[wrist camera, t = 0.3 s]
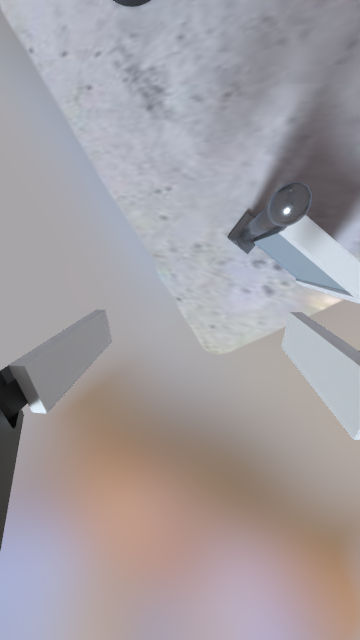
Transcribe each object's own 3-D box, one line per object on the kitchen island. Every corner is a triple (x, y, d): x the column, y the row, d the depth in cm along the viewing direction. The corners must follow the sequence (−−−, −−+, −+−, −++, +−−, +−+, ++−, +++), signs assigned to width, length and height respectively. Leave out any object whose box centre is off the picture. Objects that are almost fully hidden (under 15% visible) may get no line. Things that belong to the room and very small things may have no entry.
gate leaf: (250, 243, 32) (283, 230, 17) (258, 233, 32) (301, 211, 16) (300, 284, 33) (375, 308, 18) (309, 276, 32) (396, 293, 17)
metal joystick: (227, 237, 34) (247, 209, 14) (245, 213, 32) (300, 140, 12) (246, 253, 34) (294, 248, 14) (266, 230, 32) (352, 188, 12)
